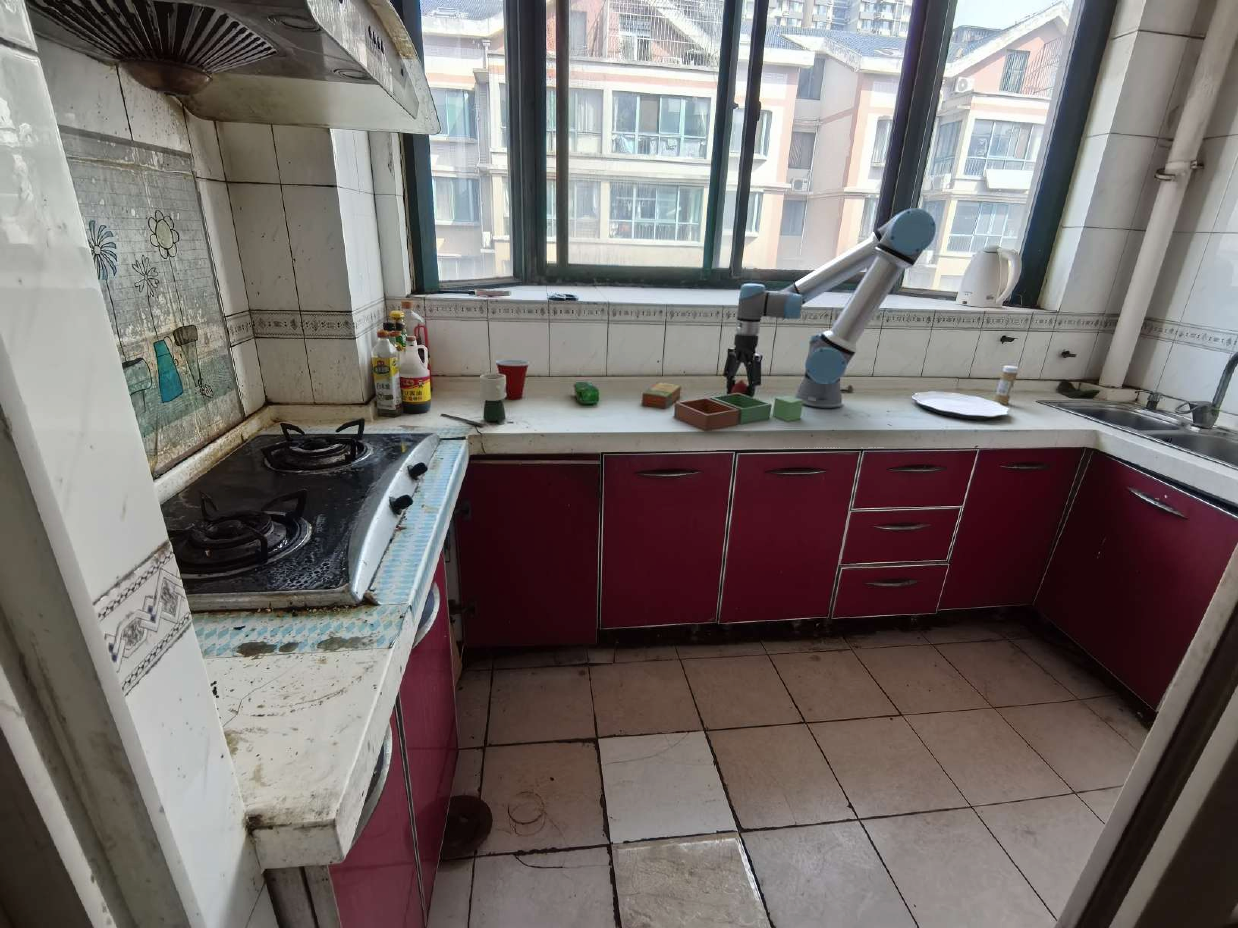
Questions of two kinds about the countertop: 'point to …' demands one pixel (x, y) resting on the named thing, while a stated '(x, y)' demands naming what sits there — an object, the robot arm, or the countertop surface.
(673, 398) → the carton
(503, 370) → the plastic cup
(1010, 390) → the sprinkles bottle
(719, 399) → the green bin
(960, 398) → the plate
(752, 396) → the robot arm
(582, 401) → the snack package
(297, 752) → the countertop surface
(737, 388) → the onion
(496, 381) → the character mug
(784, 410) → the green block
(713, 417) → the brown bin
